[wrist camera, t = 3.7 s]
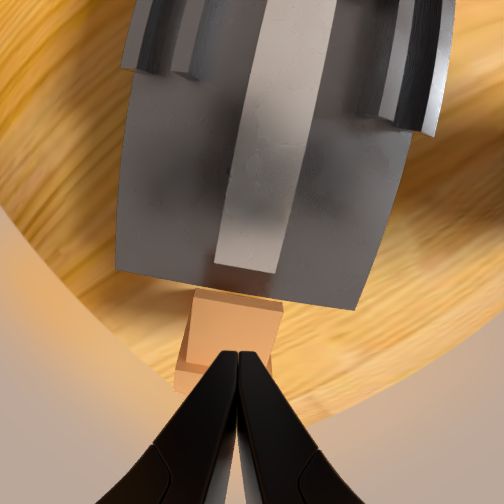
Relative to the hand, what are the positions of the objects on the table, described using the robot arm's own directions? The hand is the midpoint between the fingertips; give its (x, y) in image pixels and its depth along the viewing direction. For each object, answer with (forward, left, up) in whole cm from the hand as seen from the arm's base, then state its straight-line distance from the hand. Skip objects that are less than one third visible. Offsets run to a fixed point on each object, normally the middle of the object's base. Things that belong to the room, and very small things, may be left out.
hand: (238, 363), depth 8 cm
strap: (0, -7, -7) cm, 10 cm away
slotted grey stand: (0, -7, -11) cm, 13 cm away
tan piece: (0, +4, -11) cm, 12 cm away
